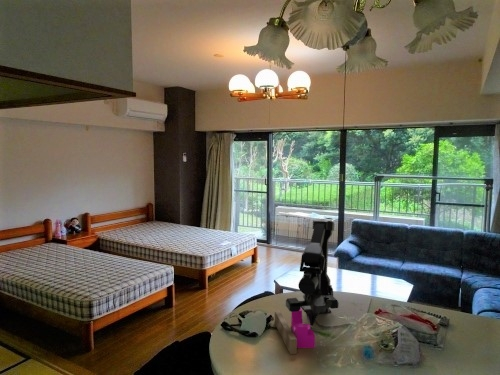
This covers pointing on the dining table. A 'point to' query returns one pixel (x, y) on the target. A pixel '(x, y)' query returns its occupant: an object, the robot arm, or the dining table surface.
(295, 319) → the toy block
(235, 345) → the dining table surface
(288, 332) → the batten
